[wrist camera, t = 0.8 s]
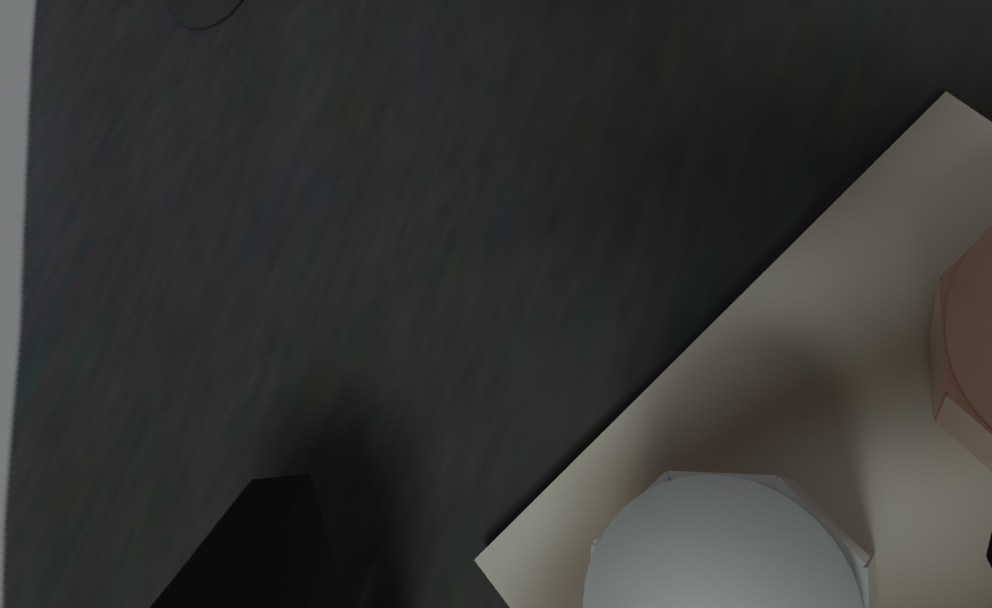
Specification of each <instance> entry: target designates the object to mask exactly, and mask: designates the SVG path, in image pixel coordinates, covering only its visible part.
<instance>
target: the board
mask: <svg viewBox="0 0 992 608" xmlns="http://www.w3.org/2000/svg"><path fill="white" fill-rule="evenodd" d="M990 226H992V122H991V121H989V120H988V119H986V118H985V117H983V116H982V115H980V114H979V113H977V112H976V111H975V110H973V109H972V108H970V107H969V106H967V105H966V104H964V103H963V102H961V101H960V100H958V99H957V98H955V97H954V96H952V95H951V94H949V93H948V92H945V93H944V94H943V95H942V96H941V97H940V98H939V99H938V100H937V101H936V102H935V103H934V104H933V105H932V106H931V107H930V108H929V109H928V110H927V111H926V112H925V113H924V114H923V115H922V116H921V117H920V118H919V119H918V120H917V121H916V122H915V123H914V124H913V125H911V126H910V127H909V128H908V129H907V130H906V131H905V132H904V133H903V134H902V135H901V136H900V137H899V138H898V139H897V140H896V141H895V142H894V143H893V144H892V145H891V146H890V147H889V148H888V149H887V150H886V151H885V152H884V153H883V154H882V155H881V156H880V157H879V158H878V159H877V160H876V161H875V162H874V163H873V164H872V165H871V166H870V167H869V168H868V169H867V170H866V171H865V172H864V173H863V174H862V175H861V176H860V177H859V178H858V179H857V180H856V181H855V182H854V183H853V184H852V185H851V186H850V187H849V188H848V189H847V190H846V191H845V192H844V193H843V194H842V195H841V196H840V197H839V198H838V199H837V200H836V201H835V202H834V203H833V204H832V205H831V206H830V207H829V208H828V209H827V210H826V211H825V212H824V213H823V214H822V215H821V216H820V217H819V218H818V219H817V220H816V221H815V222H814V223H813V224H812V225H811V226H810V227H809V228H808V229H807V230H806V231H805V232H804V233H803V234H802V235H801V236H800V237H799V238H798V239H797V240H796V241H795V242H794V243H793V244H792V245H791V246H790V247H789V248H788V249H787V250H786V251H785V252H784V253H783V254H782V255H781V256H780V257H779V258H778V259H777V260H776V261H775V262H774V263H773V264H772V265H771V266H770V267H769V268H768V269H767V270H766V271H765V272H764V273H763V274H762V275H761V276H760V277H758V278H757V279H756V280H755V281H754V282H753V283H752V284H751V285H750V286H749V287H748V288H747V289H746V290H745V291H744V292H743V293H742V294H741V295H740V296H739V297H738V298H737V299H736V300H735V301H734V302H733V303H732V304H731V305H730V306H729V307H728V308H727V309H726V310H725V311H724V312H723V313H722V314H721V315H720V316H719V317H718V318H717V319H716V320H715V321H714V322H713V323H712V324H711V325H710V326H709V327H708V328H707V329H706V330H705V331H704V332H703V333H702V334H701V335H700V336H699V337H698V338H697V339H696V340H695V341H694V342H693V343H692V344H691V345H690V346H689V347H688V348H687V349H686V350H685V351H684V352H683V353H682V354H681V355H680V356H679V357H678V358H677V359H676V360H675V361H674V362H673V363H672V364H671V365H670V366H669V367H668V368H667V369H666V370H665V371H664V372H663V373H662V374H661V375H660V376H659V377H658V378H657V379H656V380H655V381H654V382H653V383H652V384H651V385H650V386H649V387H648V388H647V389H646V390H645V391H644V392H643V393H642V394H641V395H640V396H639V397H638V398H637V399H636V400H635V401H634V402H633V403H632V404H631V405H630V406H629V407H628V408H627V409H626V410H625V411H624V412H623V413H622V414H621V415H620V416H619V417H618V418H617V419H616V420H615V421H614V422H613V423H612V424H611V425H610V426H609V427H608V428H606V429H605V430H604V431H603V432H602V433H601V434H600V435H599V436H598V437H597V438H596V439H595V440H594V441H593V442H592V443H591V444H590V445H589V446H588V447H587V448H586V449H585V450H584V451H583V452H582V453H581V454H580V455H579V456H578V457H577V458H576V459H575V460H574V461H573V462H572V463H571V464H570V465H569V466H568V467H567V468H566V469H565V470H564V471H563V472H562V473H561V474H560V475H559V476H558V477H557V478H556V479H555V480H554V481H553V482H552V483H551V484H550V485H549V486H548V487H547V488H546V489H545V490H544V491H543V492H542V493H541V494H540V495H539V496H538V497H537V498H536V499H535V500H534V501H533V502H532V503H531V504H530V505H529V506H528V507H527V508H526V509H525V510H524V511H523V512H522V513H521V514H520V515H519V516H518V517H517V518H516V519H515V520H514V521H513V522H512V523H511V524H510V525H509V526H508V527H507V528H506V529H505V530H504V531H503V532H502V533H501V534H500V535H499V536H498V537H497V538H496V539H495V540H494V541H493V542H492V543H491V544H490V545H489V546H488V547H487V548H486V549H485V550H484V551H483V552H482V553H481V554H480V555H479V556H478V557H477V558H476V559H475V562H476V563H477V564H478V566H479V567H480V568H481V570H482V571H483V572H484V574H485V575H486V576H487V578H488V579H489V580H490V582H491V583H492V584H493V586H494V587H495V588H496V590H497V591H498V592H499V594H500V595H501V596H502V598H503V599H504V600H505V602H506V603H507V604H508V606H509V607H510V608H583V596H584V585H585V579H586V575H587V570H588V566H589V563H590V560H591V545H594V543H593V541H594V540H595V539H596V538H597V537H598V536H599V535H600V534H601V533H602V532H603V531H604V530H605V529H606V528H607V527H608V525H609V524H610V522H611V521H612V520H613V519H614V518H615V516H616V515H617V514H618V513H619V512H620V511H621V510H622V509H623V508H624V507H625V506H626V505H628V504H629V503H630V502H631V501H632V500H633V499H635V498H636V497H638V496H639V495H641V494H642V493H644V492H645V491H646V490H647V489H648V488H649V487H650V486H651V485H652V484H653V483H654V482H655V481H656V480H657V479H658V478H659V477H660V476H661V475H662V474H663V473H664V472H668V471H688V472H711V473H733V474H756V475H777V476H781V477H785V478H790V479H791V480H794V481H795V482H796V483H797V484H798V485H799V486H800V487H801V488H802V489H803V490H804V491H805V492H806V493H807V494H808V495H809V496H810V497H811V498H812V499H813V500H814V501H815V502H816V503H817V504H818V505H819V506H820V507H821V508H822V509H823V510H824V511H825V512H826V513H827V514H828V515H829V516H830V517H831V518H832V519H833V520H834V521H835V522H836V523H837V524H838V525H839V526H840V527H841V528H842V529H843V530H844V531H845V532H846V533H847V534H848V535H849V536H850V537H851V538H852V539H853V540H854V541H855V542H856V543H857V544H858V545H859V546H860V547H861V548H862V549H863V550H864V551H865V552H875V553H876V583H877V608H992V568H991V566H990V564H989V562H988V560H987V557H986V554H987V549H988V545H989V541H990V537H991V532H992V471H991V470H990V469H989V468H987V467H986V466H985V465H984V464H983V463H982V462H981V461H980V460H978V459H977V458H976V457H975V456H974V455H973V454H972V453H970V452H969V451H968V450H967V449H966V448H965V447H964V446H962V445H961V444H960V443H959V442H958V441H957V440H956V439H955V438H953V437H952V436H951V435H950V434H949V433H948V432H947V431H945V430H944V429H943V428H942V427H941V426H940V425H939V424H937V423H936V422H935V420H936V419H934V414H933V393H932V372H931V351H930V327H931V321H932V316H933V310H934V304H935V298H936V293H937V287H938V281H939V280H940V276H941V275H942V274H943V273H944V272H945V271H946V270H947V269H948V268H949V267H950V266H951V265H953V264H954V263H955V262H956V261H957V260H958V259H959V258H960V257H961V256H962V255H963V254H964V253H965V252H966V251H967V250H968V249H969V248H970V247H971V246H972V245H974V243H975V242H976V241H977V240H978V239H979V238H980V237H981V236H982V234H983V233H984V232H985V231H986V230H987V229H988V228H989V227H990Z"/></svg>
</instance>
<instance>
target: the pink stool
mask: <svg viewBox="0 0 992 608" xmlns="http://www.w3.org/2000/svg"><path fill="white" fill-rule="evenodd" d="M930 351H931V372H932V393H933V414H934V419H936V420H935V422H936V423H937V424H939V425H940V426H941V427H942V428H943V429H944V430H945V431H947V432H948V433H949V434H950V435H951V436H952V437H953V438H955V439H956V440H957V441H958V442H959V443H960V444H961V445H962V446H964V447H965V448H966V449H967V450H968V451H969V452H970V453H972V454H973V455H974V456H975V457H976V458H977V459H978V460H980V461H981V462H982V463H983V464H984V465H985V466H986V467H987V468H989V469H990V470H991V471H992V226H990V227H989V228H988V229H987V230H986V231H985V232H984V233H983V234H982V236H981V237H980V238H979V239H978V240H977V241H976V242H975V243H974V245H972V246H971V247H970V248H969V249H968V250H967V251H966V252H965V253H964V254H963V255H962V256H961V257H960V258H959V259H958V260H957V261H956V262H955V263H954V264H953V265H951V266H950V267H949V268H948V269H947V270H946V271H945V272H944V273H943V274H942V275H941V276H940V280H939V281H938V287H937V293H936V298H935V304H934V310H933V316H932V321H931V327H930Z"/></svg>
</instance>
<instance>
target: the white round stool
mask: <svg viewBox="0 0 992 608" xmlns="http://www.w3.org/2000/svg"><path fill="white" fill-rule="evenodd" d="M593 543H594V545H591V560H590V563H589V566H588V570H587V575H586V579H585V585H584V596H583V608H877V583H876V553H875V552H865V551H864V550H863V549H862V548H861V547H860V546H859V545H858V544H857V543H856V542H855V541H854V540H853V539H852V538H851V537H850V536H849V535H848V534H847V533H846V532H845V531H844V530H843V529H842V528H841V527H840V526H839V525H838V524H837V523H836V522H835V521H834V520H833V519H832V518H831V517H830V516H829V515H828V514H827V513H826V512H825V511H824V510H823V509H822V508H821V507H820V506H819V505H818V504H817V503H816V502H815V501H814V500H813V499H812V498H811V497H810V496H809V495H808V494H807V493H806V492H805V491H804V490H803V489H802V488H801V487H800V486H799V485H798V484H797V483H796V482H795V481H794V480H791V479H790V478H785V477H781V476H777V475H756V474H733V473H711V472H688V471H668V472H664V473H663V474H662V475H661V476H660V477H659V478H658V479H657V480H656V481H655V482H654V483H653V484H652V485H651V486H650V487H649V488H648V489H647V490H646V491H645V492H644V493H642V494H641V495H639V496H638V497H636V498H635V499H633V500H632V501H631V502H630V503H629V504H628V505H626V506H625V507H624V508H623V509H622V510H621V511H620V512H619V513H618V514H617V515H616V516H615V518H614V519H613V520H612V521H611V522H610V524H609V525H608V527H607V528H606V529H605V530H604V531H603V532H602V533H601V534H600V535H599V536H598V537H597V538H596V539H595V540H594V541H593Z"/></svg>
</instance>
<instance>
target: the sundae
mask: <svg viewBox="0 0 992 608" xmlns="http://www.w3.org/2000/svg"><path fill="white" fill-rule="evenodd" d="M242 1H243V0H167V3H168V6H169V10H170V13H171V14H172V16H173V18H174V19H175V20H176V21H177V22H178V24H179V25H181V26H184V27H186V28H189V29H193V30H196V29H204V28H208V27H212V26H214V25H216V24H217V23H219V22H221V21H222V20H224V19H225V18H227V17H228V16H229V15H230V14H231V13H232V12H233V11H234V10H235V9H236V8H237V7H238V6H239V4H240V3H241V2H242Z"/></svg>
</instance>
